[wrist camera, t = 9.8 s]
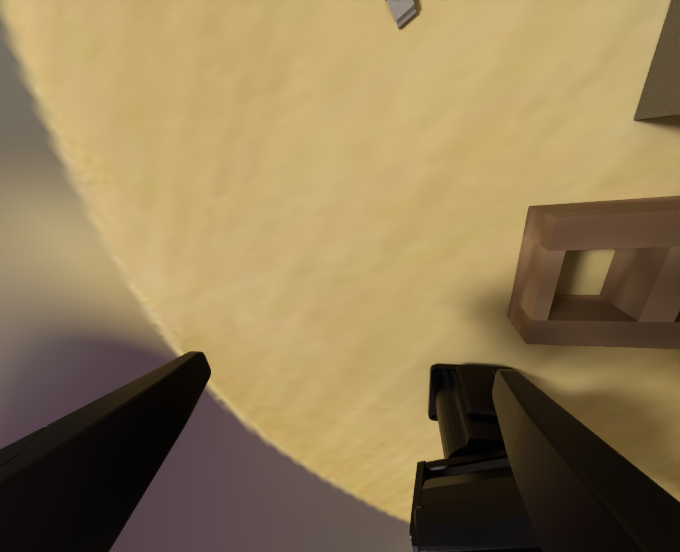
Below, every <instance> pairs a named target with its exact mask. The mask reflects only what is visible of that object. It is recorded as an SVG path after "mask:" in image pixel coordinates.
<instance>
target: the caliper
mask: <svg viewBox="0 0 680 552" xmlns="http://www.w3.org/2000/svg"><path fill="white" fill-rule="evenodd" d="M386 1H387V3H388V6H389V8H390V11H391V13H392V15H393V18H394V20H395V22H396V25H397V27H398V29H399V28H400V27H401V26H402V25H404V24H405V23H406V22H407V21H408V20H409V19H410V18H412V17H413V16H414V15H415V14H416V9H415V5H414V2H413V0H386Z"/></svg>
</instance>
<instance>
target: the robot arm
mask: <svg viewBox="0 0 680 552" xmlns="http://www.w3.org/2000/svg"><path fill="white" fill-rule="evenodd" d="M436 370H438V371H436ZM210 375H211V369H210V366H209V364H208V361H207V359H206V356H205V354H204V353H203V352H198V351H191V352H188V353H186V354H184V355H182V356H180V357H178V358H176V359H174V360H173V361H170V362H169V363H167V364H165V365H163V366H161V367H159V368H157V369H155V370H153V371H151V372H149V373H147V374H145V375H143V376H141V377H140V378H138V379H136V380H134V381H132V382H130V383H128V384H126V385H124V386H122V387H120V388H118V389H116V390H114V391H113V392H111V393H109V394H107V395H105V396H103V397H101V398H99V399H97V400H95V401H93V402H91V403H89V404H87V405H86V406H83V407H82V408H80V409H78V410H76V411H74V412H72V413H70V414H68V415H66V416H64V417H62V418H60V419H58V420H57V421H55V422H53V423H51V424H49V425H47V427H43V428H41V429H39V430H37V431H35V432H33V433H31V434H29V435H27V436H25V437H23V438H22V439H20V440H18V441H16V442H14V443H12V444H10V445H8V446H6V447H4V448H2V449H0V552H109V551H110V549H111V548H112V546H113V544H114V543H115V541H116V539H117V538H118V536H119V534H120V533H121V531H122V529H123V528H124V526H125V524H126V523H127V521H128V519H129V518H130V516H131V514H132V513H133V511H134V510H135V508H136V506H137V505H138V503H139V501H140V500H141V498H142V496H143V495H144V493H145V491H146V490H147V488H148V486H149V485H150V483H151V482H152V480H153V478H154V477H155V475H156V473H157V472H158V470H159V468H160V466H161V465H162V463H163V462H164V460H165V458H166V457H167V455H168V453H169V452H170V450H171V449H172V447H173V445H174V443H175V442H176V440H177V439H178V437H179V435H180V434H181V432H182V430H183V428H184V427H185V425H186V424H187V422H188V420H189V418H190V416H191V414H192V412H193V410H194V408H195V406H196V404H197V402H198V400H199V398H200V396H201V394H202V392H203V390H204V388H205V386H206V384H207V382H208V380H209V378H210ZM428 416H429V418H430V419H431V420H434V421H438V423H439V429H440V435H441V441H442V447H443V453H444V459H439V460H434V461H429V462H426V461H421V462H418V463H417V470H416V479H415V487H414V495H413V504H412V512H411V523H410V537H411V541H412V547H413V552H680V502H679V501H678V500H677V499H675V498H674V497H673V496H672V495H670V494H669V493H668V492H667V491H665V490H664V489H663V488H662V487H660V486H659V485H658V484H657V483H655V482H654V481H653V480H652V479H650V478H649V477H648V476H647V475H645V474H644V473H643V472H642V471H640V470H639V469H638V468H637V467H635V466H634V465H633V464H632V463H631V462H629V461H628V460H627V459H626V458H624V457H623V456H622V455H621V454H619V453H618V452H617V451H616V450H614V449H613V448H612V447H611V446H609V445H608V444H607V443H606V442H604V441H603V440H602V439H601V438H599V437H598V436H597V435H596V434H594V433H593V432H592V431H591V430H589V429H588V428H587V427H586V426H584V425H583V424H582V423H581V422H580V421H578V420H577V419H576V418H575V417H573V416H572V415H571V414H570V413H568V412H567V411H566V410H565V409H563V408H562V407H561V406H560V405H558V404H557V403H556V402H555V401H553V400H552V399H551V398H550V397H548V396H547V395H546V394H545V393H543V392H542V391H541V390H540V389H538V388H537V387H536V386H535V385H534V384H532V383H531V382H530V381H529V380H527V379H526V378H525V377H524V376H522V375H521V374H520V373H519V372H517V371H515V370H513V369H510V368H493V367H474V366H455V365H432V366H431V368H430V384H429V404H428Z"/></svg>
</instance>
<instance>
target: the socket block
mask: <svg viewBox="0 0 680 552" xmlns="http://www.w3.org/2000/svg"><path fill="white" fill-rule="evenodd" d="M671 115H680V0H671V3H670V6H669V9H668V12H667V16H666V19H665V22H664V25H663V28H662V31H661V35H660V38H659V41H658V44H657V47H656V50H655V54H654V57H653V60H652V63H651V66H650V70H649V73H648V76H647V79H646V82H645V85H644V89H643V92H642V95H641V98H640V101H639V104H638V108H637V111H636V114H635V117H634V120H639V119H647V118H655V117H663V116H671Z"/></svg>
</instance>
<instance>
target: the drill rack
mask: <svg viewBox="0 0 680 552" xmlns="http://www.w3.org/2000/svg"><path fill="white" fill-rule="evenodd" d="M596 249H616V251H615V253H614V256H613V259H612V262H611V265H610V268H609V270H608V273H607V276H606V279H605V282H604V285H603V287H602V290H601V293H600V295H554V293H555V290H556V286H557V282H558V279H559V275H560V271H561V268H562V264H563V260H564V256H565V253H566V251H567V250H596ZM508 318H509V320H510V321H511V323H512V324H513V325H514V327H515V328H516V330H517V331H518V333H519V334H520V336H521V337H522V338H523V340H524V341H525V343H526V344H546V345H576V346H605V347H635V348H665V349H680V196H671V197H657V198H642V199H628V200H613V201H598V202H584V203H569V204H555V205H540V206H529V208H528V213H527V219H526V224H525V229H524V234H523V239H522V245H521V250H520V255H519V260H518V265H517V271H516V276H515V281H514V286H513V291H512V297H511V302H510V307H509V312H508Z"/></svg>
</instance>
